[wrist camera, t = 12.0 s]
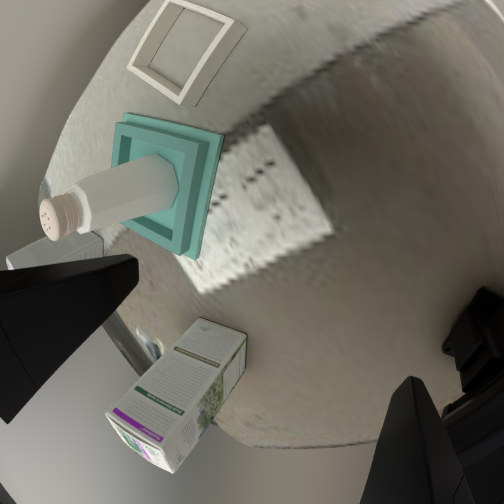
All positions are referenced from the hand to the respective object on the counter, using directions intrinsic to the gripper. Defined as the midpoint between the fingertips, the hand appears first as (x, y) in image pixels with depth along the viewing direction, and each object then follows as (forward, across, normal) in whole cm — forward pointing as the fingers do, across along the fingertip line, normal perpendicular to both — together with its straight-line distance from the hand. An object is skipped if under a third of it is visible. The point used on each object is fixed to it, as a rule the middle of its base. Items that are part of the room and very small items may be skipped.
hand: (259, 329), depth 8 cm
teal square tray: (+13, +15, +2) cm, 20 cm away
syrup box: (+13, +6, +17) cm, 22 cm away
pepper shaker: (+13, +15, +2) cm, 20 cm away
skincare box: (+13, +27, +13) cm, 33 cm away
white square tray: (+13, +14, -10) cm, 21 cm away
